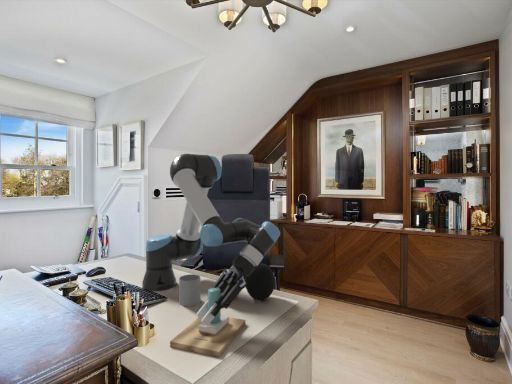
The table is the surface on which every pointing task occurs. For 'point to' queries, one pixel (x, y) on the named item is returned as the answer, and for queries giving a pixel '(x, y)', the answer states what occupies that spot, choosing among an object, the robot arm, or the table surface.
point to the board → (207, 338)
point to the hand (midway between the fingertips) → (201, 320)
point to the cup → (189, 290)
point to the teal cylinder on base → (219, 319)
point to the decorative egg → (260, 282)
